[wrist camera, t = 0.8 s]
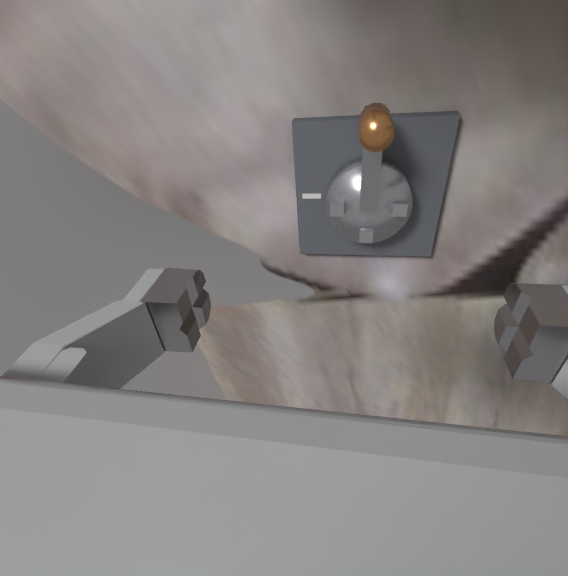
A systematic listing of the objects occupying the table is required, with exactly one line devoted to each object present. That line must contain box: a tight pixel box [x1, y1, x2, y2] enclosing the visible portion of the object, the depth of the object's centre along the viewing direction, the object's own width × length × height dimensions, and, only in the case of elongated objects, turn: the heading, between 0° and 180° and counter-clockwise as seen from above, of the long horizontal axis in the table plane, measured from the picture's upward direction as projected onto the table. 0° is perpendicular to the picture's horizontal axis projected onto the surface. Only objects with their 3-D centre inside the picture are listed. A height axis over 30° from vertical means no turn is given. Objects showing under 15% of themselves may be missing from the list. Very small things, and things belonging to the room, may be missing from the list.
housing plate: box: [292, 111, 460, 257], centre depth 45 cm, size 18×18×2 cm
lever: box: [326, 103, 413, 243], centre depth 39 cm, size 16×10×9 cm, turn 5°
